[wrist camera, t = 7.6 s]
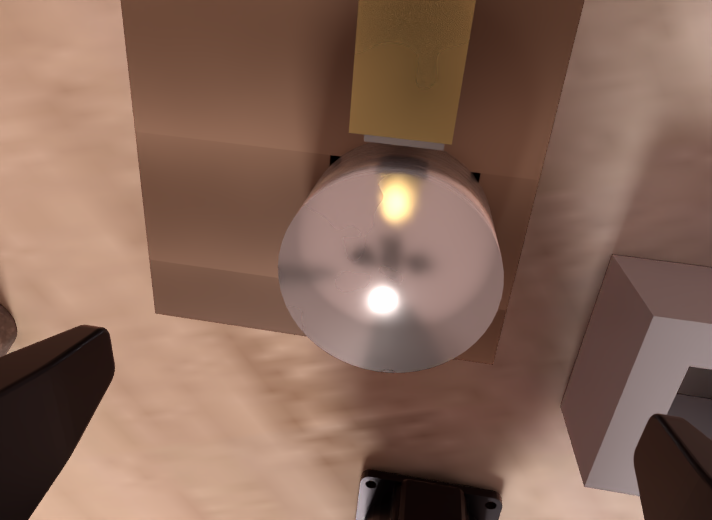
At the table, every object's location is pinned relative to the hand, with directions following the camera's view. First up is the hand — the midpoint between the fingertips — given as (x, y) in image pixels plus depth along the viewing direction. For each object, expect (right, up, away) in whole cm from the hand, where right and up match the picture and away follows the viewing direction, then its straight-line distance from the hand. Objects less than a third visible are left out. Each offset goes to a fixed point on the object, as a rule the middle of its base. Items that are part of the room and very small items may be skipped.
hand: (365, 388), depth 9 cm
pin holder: (+12, -1, +11) cm, 16 cm away
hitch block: (0, +7, +9) cm, 11 cm away
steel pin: (+2, +5, +9) cm, 11 cm away
